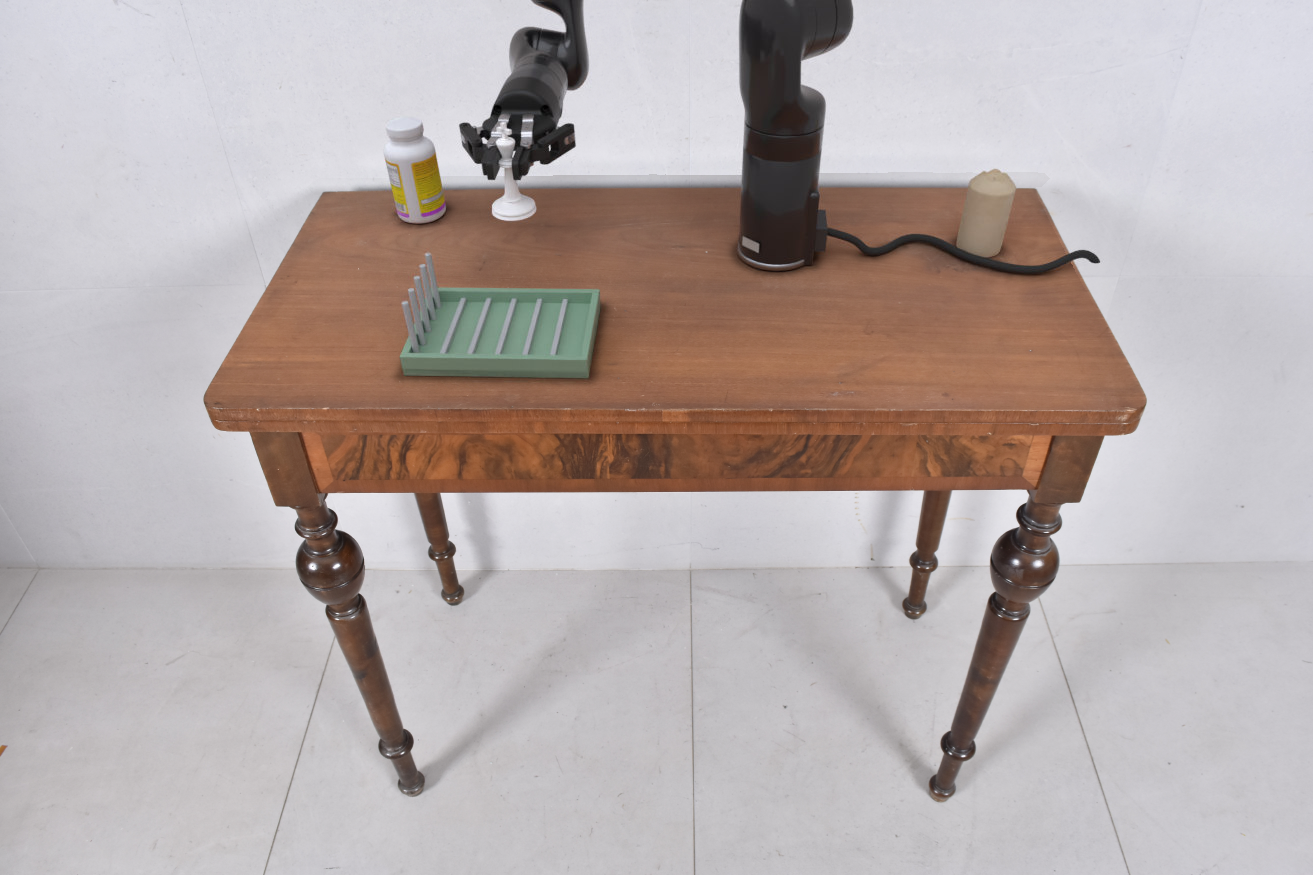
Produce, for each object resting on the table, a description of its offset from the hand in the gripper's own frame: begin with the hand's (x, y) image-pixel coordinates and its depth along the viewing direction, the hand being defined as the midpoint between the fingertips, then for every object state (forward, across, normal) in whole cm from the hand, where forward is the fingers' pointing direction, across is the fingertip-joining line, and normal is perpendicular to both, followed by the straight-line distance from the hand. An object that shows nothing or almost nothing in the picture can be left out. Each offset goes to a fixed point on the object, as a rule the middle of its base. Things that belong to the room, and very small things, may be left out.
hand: (503, 171), depth 97 cm
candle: (-17, +56, +18) cm, 61 cm away
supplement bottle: (-25, -18, +18) cm, 35 cm away
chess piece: (-3, 0, +6) cm, 7 cm away
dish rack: (+5, -1, +18) cm, 18 cm away
